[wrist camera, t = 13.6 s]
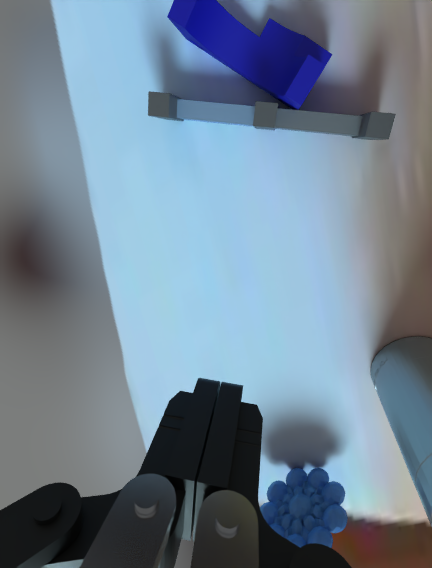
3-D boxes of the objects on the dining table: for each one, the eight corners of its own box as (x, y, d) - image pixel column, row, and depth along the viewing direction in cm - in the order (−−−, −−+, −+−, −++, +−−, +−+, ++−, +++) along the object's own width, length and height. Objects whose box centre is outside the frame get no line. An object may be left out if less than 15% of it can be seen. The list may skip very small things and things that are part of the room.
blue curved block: (327, 62, 29) (338, 44, 24) (296, 112, 31) (301, 105, 26) (211, -17, 28) (195, -55, 23) (186, 39, 30) (167, 16, 25)
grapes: (267, 492, 51) (264, 586, 40) (254, 460, 49) (248, 551, 38) (345, 487, 48) (365, 588, 37) (336, 453, 46) (354, 549, 35)
